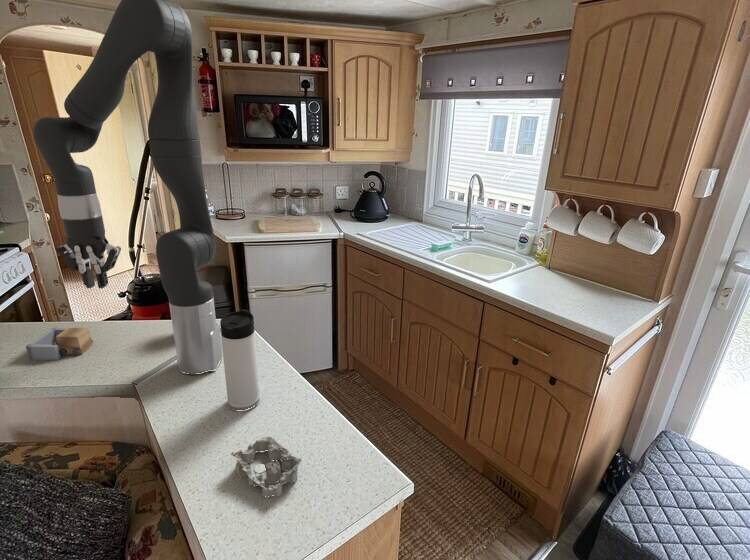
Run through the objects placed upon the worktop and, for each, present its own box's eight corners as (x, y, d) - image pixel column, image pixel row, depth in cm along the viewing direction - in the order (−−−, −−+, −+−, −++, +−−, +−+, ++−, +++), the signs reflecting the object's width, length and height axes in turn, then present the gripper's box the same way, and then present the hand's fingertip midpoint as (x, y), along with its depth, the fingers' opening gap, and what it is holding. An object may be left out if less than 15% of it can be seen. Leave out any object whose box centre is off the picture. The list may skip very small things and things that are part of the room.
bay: (82, 340, 108) (79, 328, 107) (57, 359, 99) (54, 346, 98) (56, 339, 108) (53, 327, 107) (29, 359, 99) (25, 346, 98)
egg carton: (229, 470, 71) (227, 451, 70) (266, 446, 76) (264, 428, 75) (268, 506, 65) (267, 486, 63) (305, 477, 70) (304, 458, 69)
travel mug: (265, 395, 90) (260, 311, 83) (249, 415, 84) (242, 326, 77) (240, 390, 91) (232, 307, 84) (221, 408, 85) (212, 320, 78)
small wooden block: (94, 344, 107) (90, 327, 105) (80, 356, 101) (76, 338, 100) (73, 344, 106) (69, 326, 105) (59, 356, 101) (54, 337, 99)
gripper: (122, 211, 96) (135, 282, 102) (60, 209, 95) (76, 280, 101) (104, 219, 89) (118, 294, 95) (36, 216, 88) (55, 292, 94)
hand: (96, 286), depth 98 cm, fingers closed
